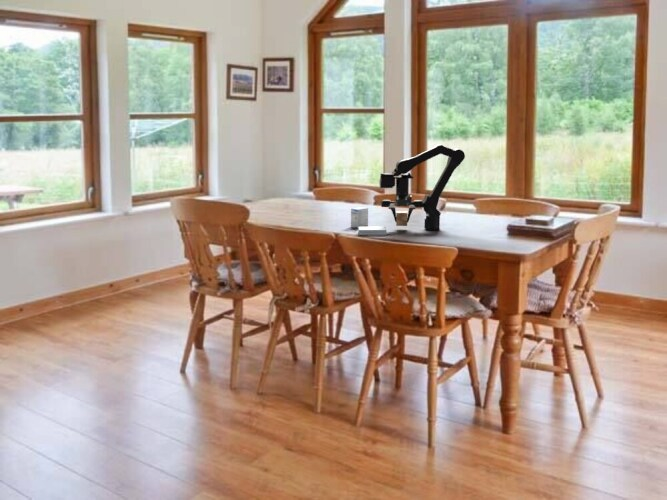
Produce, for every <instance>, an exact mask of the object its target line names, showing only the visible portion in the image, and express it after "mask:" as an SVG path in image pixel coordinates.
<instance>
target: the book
mask: <svg viewBox="0 0 667 500" xmlns="http://www.w3.org/2000/svg"><path fill="white" fill-rule="evenodd" d="M359 235H368V236H369V237H370V236H373V237H375V236H376V237H378V236H381V237H382V236H387V227H386V226H377V227H373V226H364V227H359V228H358V236H359Z"/></svg>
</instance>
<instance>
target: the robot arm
mask: <svg viewBox="0 0 667 500" xmlns="http://www.w3.org/2000/svg"><path fill="white" fill-rule="evenodd" d="M438 155H443V156H446V157H448V158H447V162H446V165H445V167H444V169H443V171H442V173H441V175H440V176H439V178H438V179H437V182H436V183H435V185H434V187H433V188H432V191H431V192H430V193H429V194H428V195H427V194H425V195H424V197H423V199H414V200H413V197H412V194H410V195H409V190H410V189H409V187H410V186H409V185H410V184H409V183H410V179H414V176H412V174H411V173H410V172H411V170H413V169H414V168H415V167H417V166H418V165H420V164H422V163H425V162H426V161H429V160H430V159H432V158H435V157H436V156H438ZM465 158H466V154H465V152H464V151H463V150H462V149H459V148H454V149H452V148H449V147H447V146H444V145H442V144H437V145H435V146H434V147H432V148H429V149H428V150H426V151H423V152H421V153H419V154H416V155H415V156H413V157H408V158H405V159H402V160H398V161H397V162H396V163H395V164H396V165H395V168H394V170H392V172H391V173H384V172H383V173H382V172H381V173H380V176H379V189H393V188H394V187H395V201H391V199H382V200H381V204H380V205H381V208H388V209H389V210H390V211H391V213H392V215H393V219H394V221H395V223H396V212H397V211H396V206H397V207H408V211H407V224H408V223H409V221H410V217H411V215H412V212H413V211H414V210H416V209H417V208H421V209H422V210H423V212H425V214H426V215H425V218H424V221H423V222H424V224H423V226H424V228H423V229H424V230H425V231H440V230H441V227H440V225H441V224H440V222H441V214H442V212H441V211H440V210H438V209H437V207H438V203H439V201H440V197H441V195H442V193H443V191H444V189H445V188H446V186H447V184H448V182H449V180H450V178H451V177H452V175H453V173H454V171H455V170H456V169H457V168H458V167H459V166H460V165H461V164H462V163H463V162H464V159H465ZM412 200H413V201H412Z"/></svg>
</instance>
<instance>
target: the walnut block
mask: <svg viewBox="0 0 667 500" xmlns="http://www.w3.org/2000/svg"><path fill="white" fill-rule="evenodd" d="M407 218H408V211H405V210H403V211H398V210H397V211H396V222H395V225H396V226H397V227H407V226H408V223H407Z"/></svg>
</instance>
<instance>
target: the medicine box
mask: <svg viewBox="0 0 667 500" xmlns="http://www.w3.org/2000/svg"><path fill="white" fill-rule="evenodd" d="M350 227H351V228H355V227H357V228H356V229H359V227H369V208H368V207H363V206H362V207H355V208H351V209H350Z"/></svg>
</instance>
